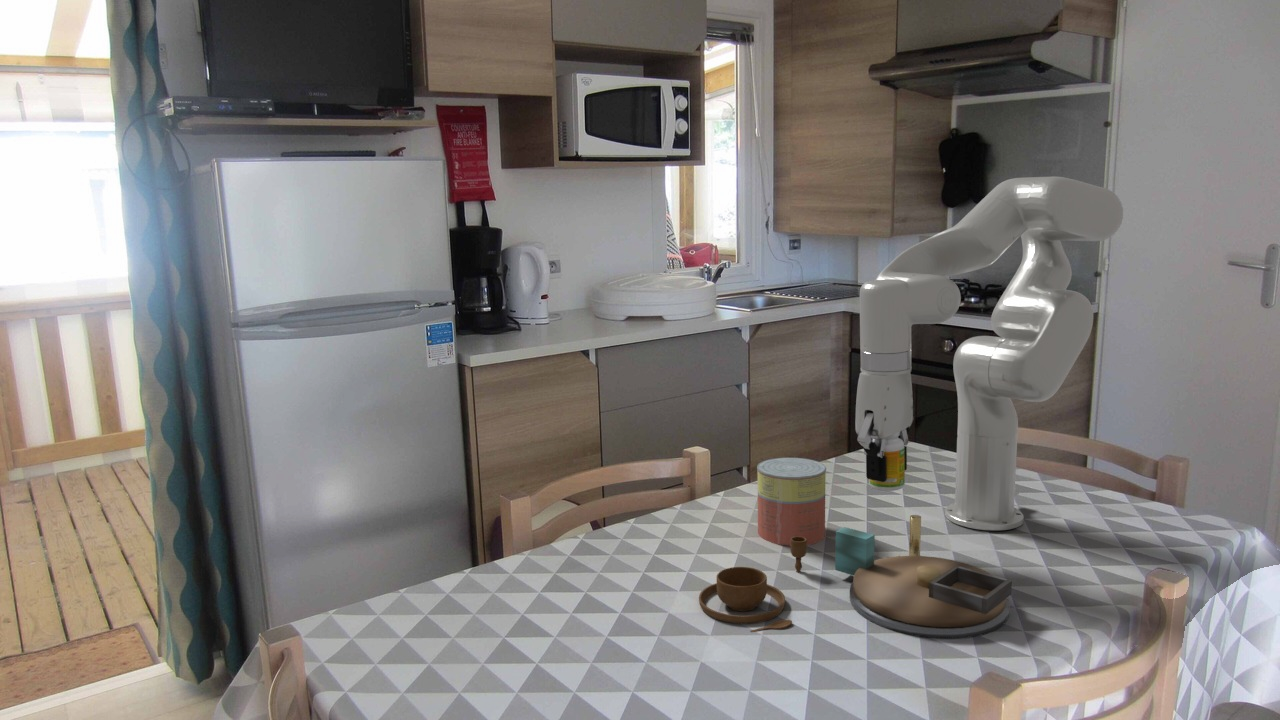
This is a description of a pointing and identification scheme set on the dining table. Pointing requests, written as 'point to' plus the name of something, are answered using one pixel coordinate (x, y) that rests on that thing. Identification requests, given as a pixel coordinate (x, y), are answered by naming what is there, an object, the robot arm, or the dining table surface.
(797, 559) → the place setting
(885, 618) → the flange base
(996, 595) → the turntable plate
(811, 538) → the canned food
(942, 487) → the dining table surface
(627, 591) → the dining table surface
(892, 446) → the supplement bottle
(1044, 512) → the dining table surface
